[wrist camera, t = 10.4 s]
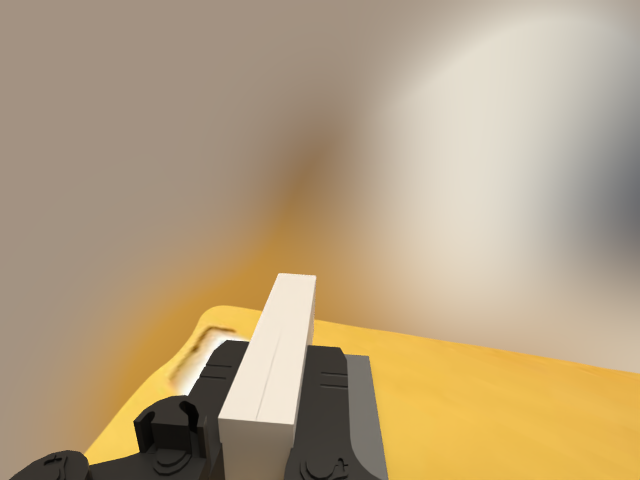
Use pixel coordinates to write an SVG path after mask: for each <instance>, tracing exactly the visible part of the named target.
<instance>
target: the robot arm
mask: <svg viewBox="0 0 640 480" xmlns="http://www.w3.org/2000/svg"><path fill="white" fill-rule="evenodd" d="M315 289H316V276H313V275H299V274H284V273H283V274H282V273H279V274H278V277H277V279H276V281H275V284H274V286H273V289H272V291H271V293H270V295H269V298H268V300H267V303H266V305H265V307H264V310H263V312H262V314H261V317H260V319H259V322H258V324H257V326H256V329H255V331H254V334H253V336H252V338H251V341H250V342H246V341H232V340H226V341H225V342H224V343H223V344H221V345H220V346H219V347H218V348H216V349H215V350H214V351H213V353H212V355H211V356H210V358H209V360H208V362H207V363H206V367H204V369H203V370H202V372H201V374H200V377H199V379H197V381H196V383H195V384H194V386H193V388H192V390H191V391H190V393H189V395H188V396H186V395H181V396H171V397H168V398H165V399H162V400H160V401H157V402H155V403H154V404H152V405H151V406H149V407H148V408H146V409H145V410H143V412H142V413H141V414H140V415H139V416H138V417H137V418H136V419H135V420H134V421H133V422H134V427H135V432H136V436H137V441H138V446H139V450H140V452H139V453H137V454H134V455H131V456H127V457H124V458H120V459H116V460H111V461H107V462H102V463H98V464H94V465H89V463H88V460H87V458H86V457H85V456H84V455H83V454H82V453H80V452H77V451H70V450H66V451H61V452H56V453H52V454H49V455H47V456H45V457H43V458H41V459H39V460H36V461H34V462H32V463H31V464H30V465H28V466H27V467H26V468H24V469H23V470H21V471H20V472H18V473H17V474H15V475H14V476H13V477H12V478H11V479H9V480H381V479H379V478H378V477H376V476H374V475H372V474H371V473H370V472H369V471H367V470H366V469H365V468H364V467H363V466H362V465H361V463H360V462H359V460H358V459H357V458H356V456H355V454H354V451H353V449H352V445H351V439H350V417H349V393H348V368H347V359H346V357H345V355H344V354H343V352H342V350H341V349H340V348H339V347H326V346H313V345H312V341H313V332H314V310H315Z"/></svg>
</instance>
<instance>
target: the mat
mask: <svg viewBox="0 0 640 480" xmlns="http://www.w3.org/2000/svg"><path fill="white" fill-rule="evenodd" d="M344 355H345V357H346V359H347V368H348V393H349V417H350V439H351V445H352V449H353V451H354V454H355V456H356V458H357V459H358V460H359V462H360V463H361V465H362V466H363V467H364V468H365V469H366V470H367V471H369V472H370V473H371V474H372V475H374V476H376V477H378V478H379V479H381V480H388V474H387V468H386V462H385V455H384V449H383V443H382V437H381V430H380V424H379V418H378V411H377V405H376V399H375V393H374V386H373V380H372V374H371V367H370V361H369V356H361V355H346V354H344Z"/></svg>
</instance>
